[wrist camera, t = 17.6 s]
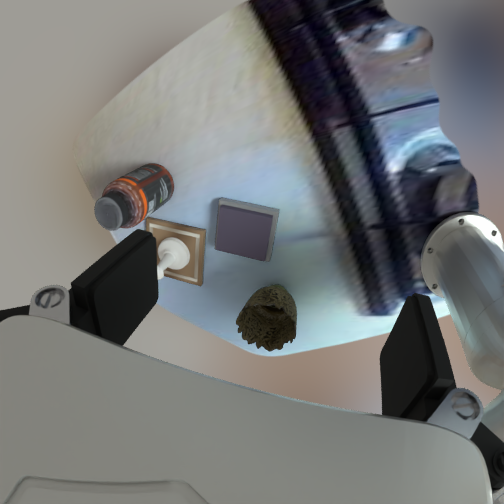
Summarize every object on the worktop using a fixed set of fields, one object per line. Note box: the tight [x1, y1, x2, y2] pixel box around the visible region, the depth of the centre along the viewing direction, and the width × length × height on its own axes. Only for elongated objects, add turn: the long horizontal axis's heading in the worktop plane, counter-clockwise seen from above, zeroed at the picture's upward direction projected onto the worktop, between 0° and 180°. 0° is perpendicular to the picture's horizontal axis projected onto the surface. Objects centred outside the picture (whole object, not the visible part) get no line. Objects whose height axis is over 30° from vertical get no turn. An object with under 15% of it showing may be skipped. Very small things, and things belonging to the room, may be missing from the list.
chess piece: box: [157, 237, 190, 280], centre depth 42 cm, size 5×5×10 cm
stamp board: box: [146, 217, 206, 286], centre depth 46 cm, size 9×9×1 cm
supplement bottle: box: [94, 164, 174, 230], centre depth 37 cm, size 6×6×11 cm
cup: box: [236, 285, 297, 351], centre depth 42 cm, size 8×7×8 cm
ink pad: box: [215, 198, 279, 262], centre depth 41 cm, size 8×7×2 cm
